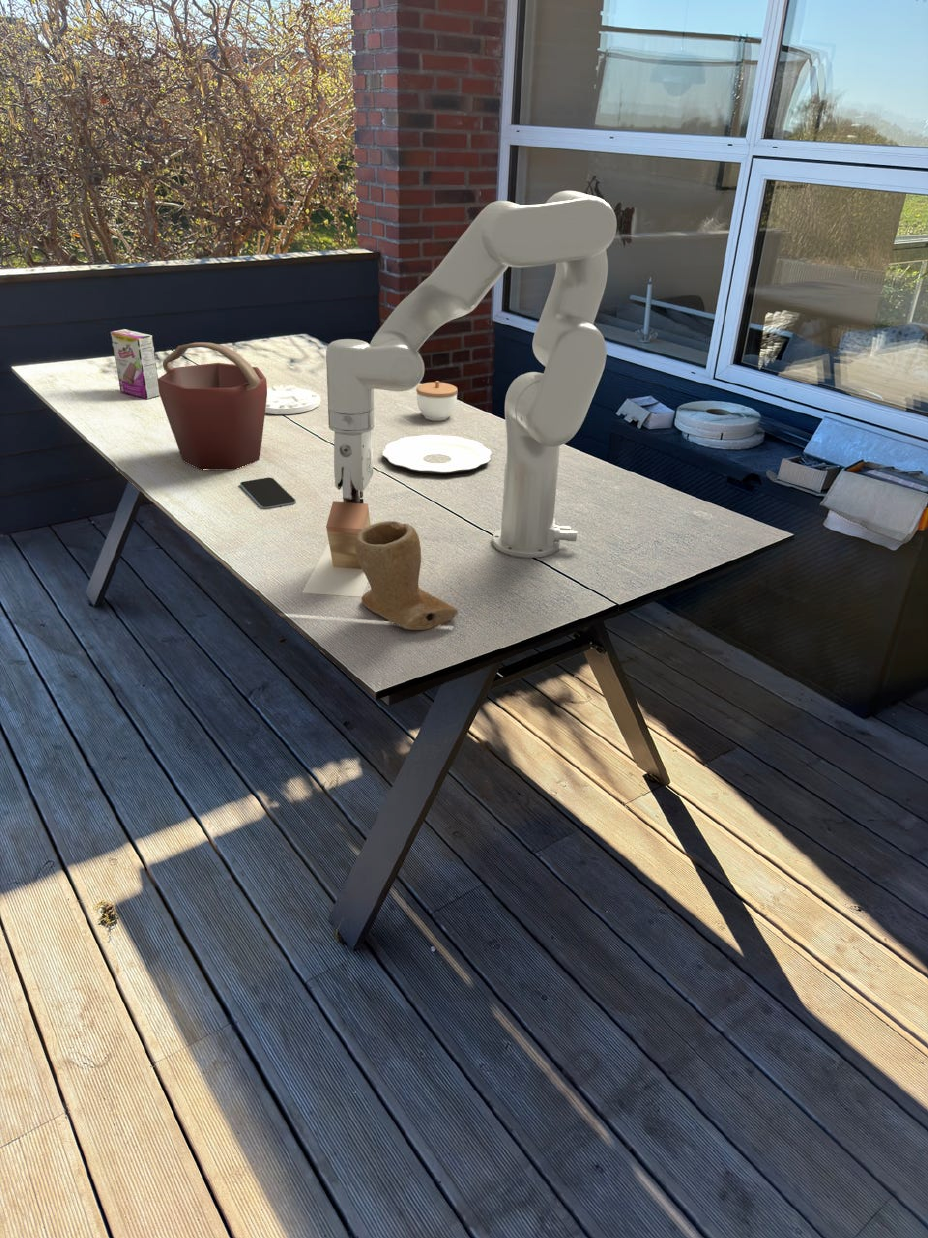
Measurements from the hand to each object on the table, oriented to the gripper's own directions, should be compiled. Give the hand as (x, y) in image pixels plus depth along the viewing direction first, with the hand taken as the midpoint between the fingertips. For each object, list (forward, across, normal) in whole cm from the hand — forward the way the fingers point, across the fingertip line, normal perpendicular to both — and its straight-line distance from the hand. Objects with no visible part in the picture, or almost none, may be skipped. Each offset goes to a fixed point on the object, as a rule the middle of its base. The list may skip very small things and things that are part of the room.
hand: (353, 521), depth 156 cm
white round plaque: (+8, +90, +39) cm, 98 cm away
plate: (+8, +55, -8) cm, 56 cm away
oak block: (+6, -2, 0) cm, 6 cm away
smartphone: (+8, +27, +24) cm, 37 cm away
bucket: (+8, +47, +40) cm, 62 cm away
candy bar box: (+8, +90, +79) cm, 120 cm away
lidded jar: (+7, +87, -3) cm, 88 cm away
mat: (+7, -4, +1) cm, 8 cm away
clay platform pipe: (+8, -19, -11) cm, 23 cm away
